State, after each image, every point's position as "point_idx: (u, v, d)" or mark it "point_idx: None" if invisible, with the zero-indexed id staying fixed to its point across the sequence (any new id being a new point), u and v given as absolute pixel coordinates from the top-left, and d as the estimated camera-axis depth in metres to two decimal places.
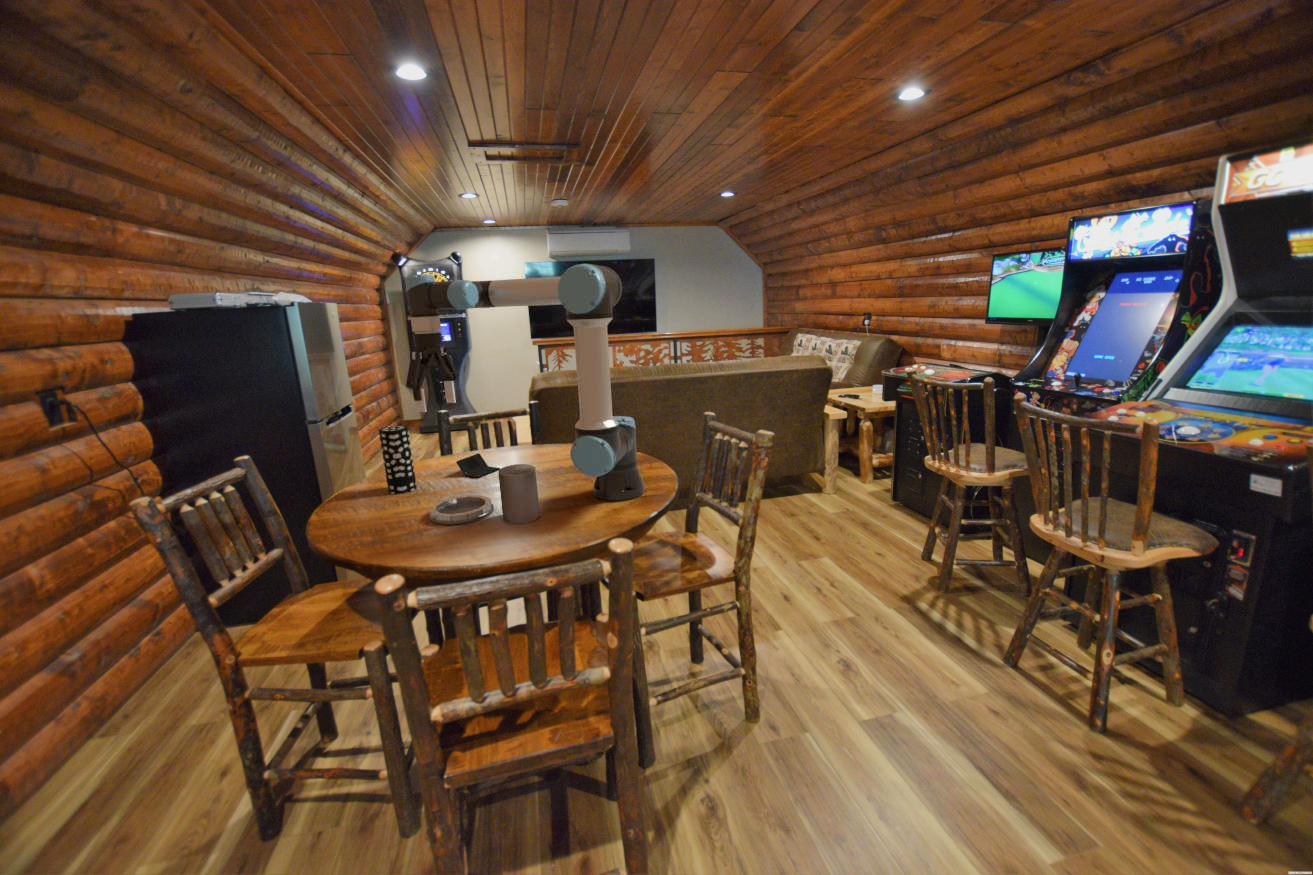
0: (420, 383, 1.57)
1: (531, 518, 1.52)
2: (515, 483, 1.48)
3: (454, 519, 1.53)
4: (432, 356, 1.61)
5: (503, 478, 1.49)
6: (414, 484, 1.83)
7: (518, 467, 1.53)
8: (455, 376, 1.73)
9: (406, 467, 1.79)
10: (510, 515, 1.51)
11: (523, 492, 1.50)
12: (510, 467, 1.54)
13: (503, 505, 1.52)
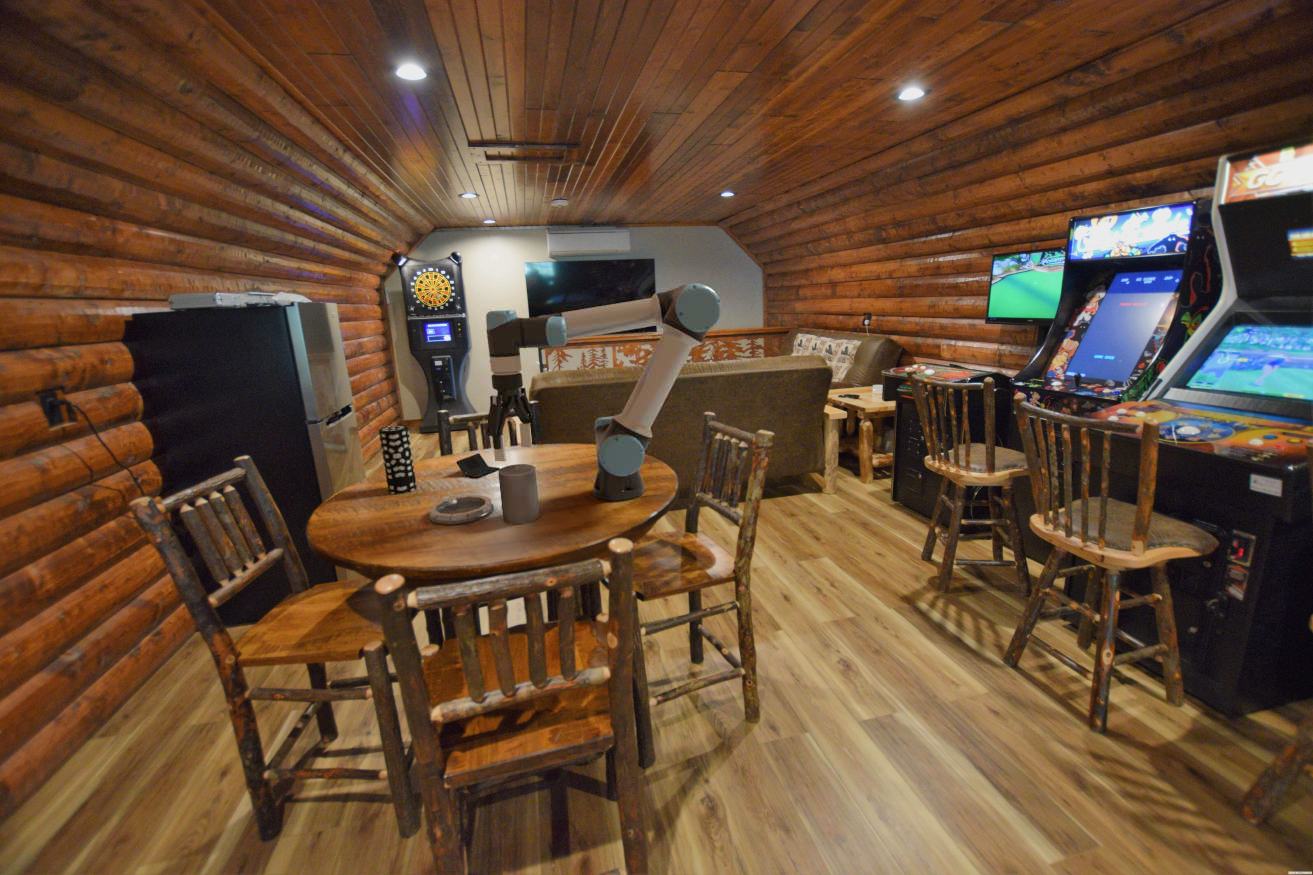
0: (500, 430, 1.42)
1: (531, 518, 1.52)
2: (515, 483, 1.48)
3: (454, 519, 1.53)
4: (512, 399, 1.46)
5: (503, 478, 1.49)
6: (414, 484, 1.83)
7: (518, 467, 1.53)
8: (531, 418, 1.58)
9: (406, 467, 1.79)
10: (510, 515, 1.51)
11: (523, 492, 1.50)
12: (510, 467, 1.54)
13: (503, 505, 1.52)
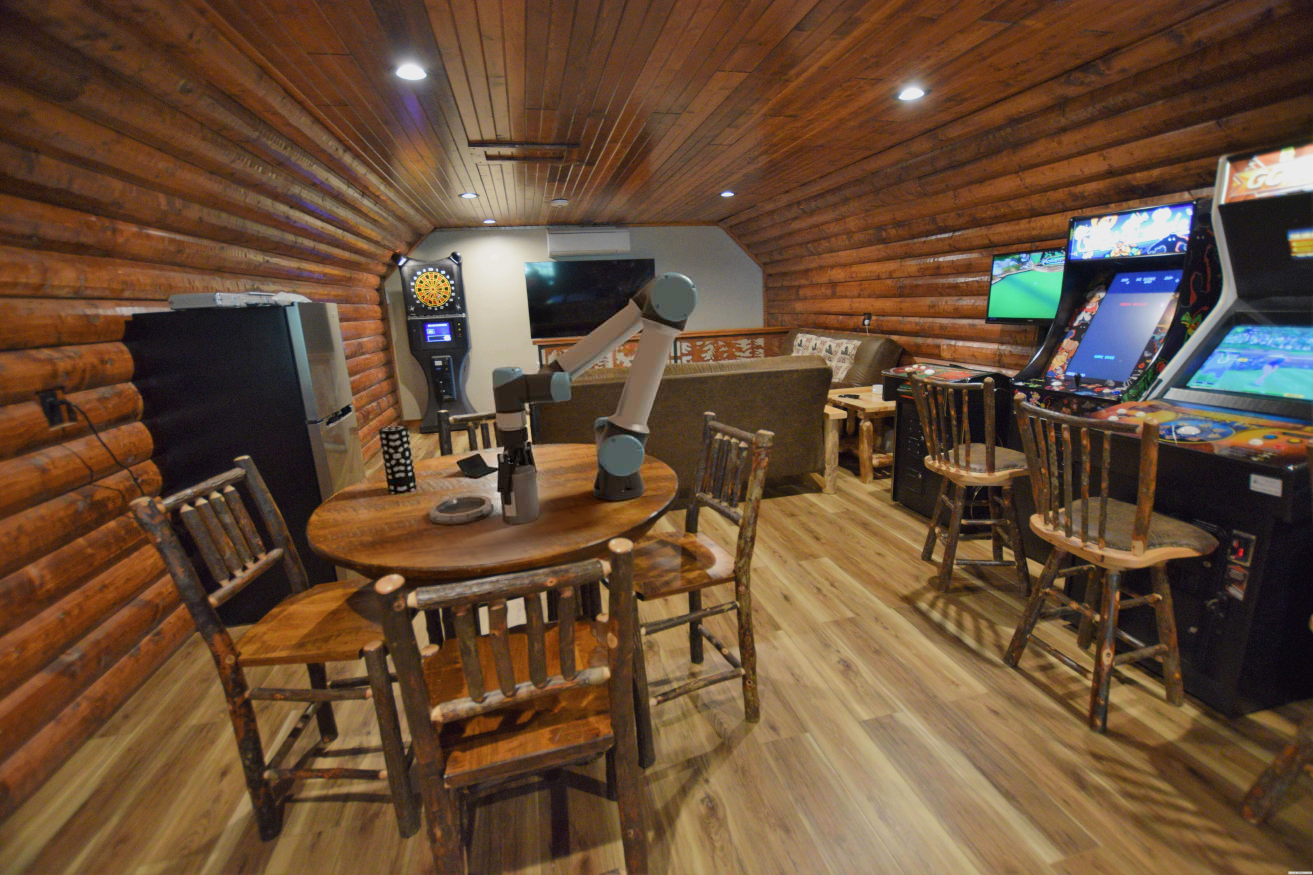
0: (511, 486, 1.47)
1: (530, 518, 1.52)
2: (515, 483, 1.48)
3: (454, 519, 1.53)
4: (518, 453, 1.49)
5: None
6: (414, 484, 1.83)
7: (518, 467, 1.53)
8: None
9: (406, 467, 1.79)
10: None
11: (523, 492, 1.49)
12: None
13: (503, 505, 1.52)
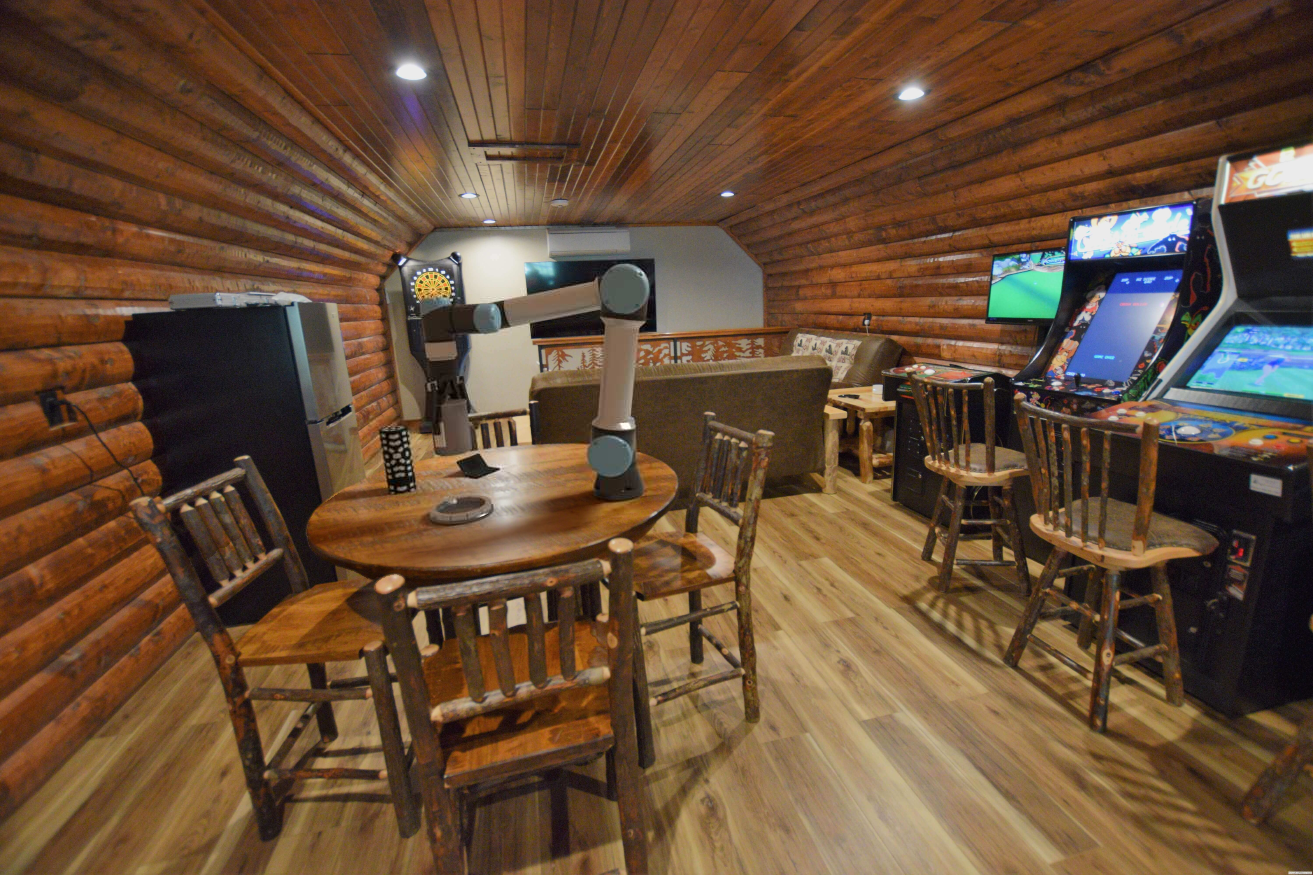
0: (439, 416, 1.48)
1: (461, 451, 1.53)
2: (444, 413, 1.49)
3: (454, 519, 1.53)
4: (448, 384, 1.50)
5: None
6: (414, 484, 1.83)
7: (449, 400, 1.54)
8: (468, 408, 1.60)
9: (406, 467, 1.79)
10: None
11: (452, 423, 1.50)
12: None
13: (433, 437, 1.52)
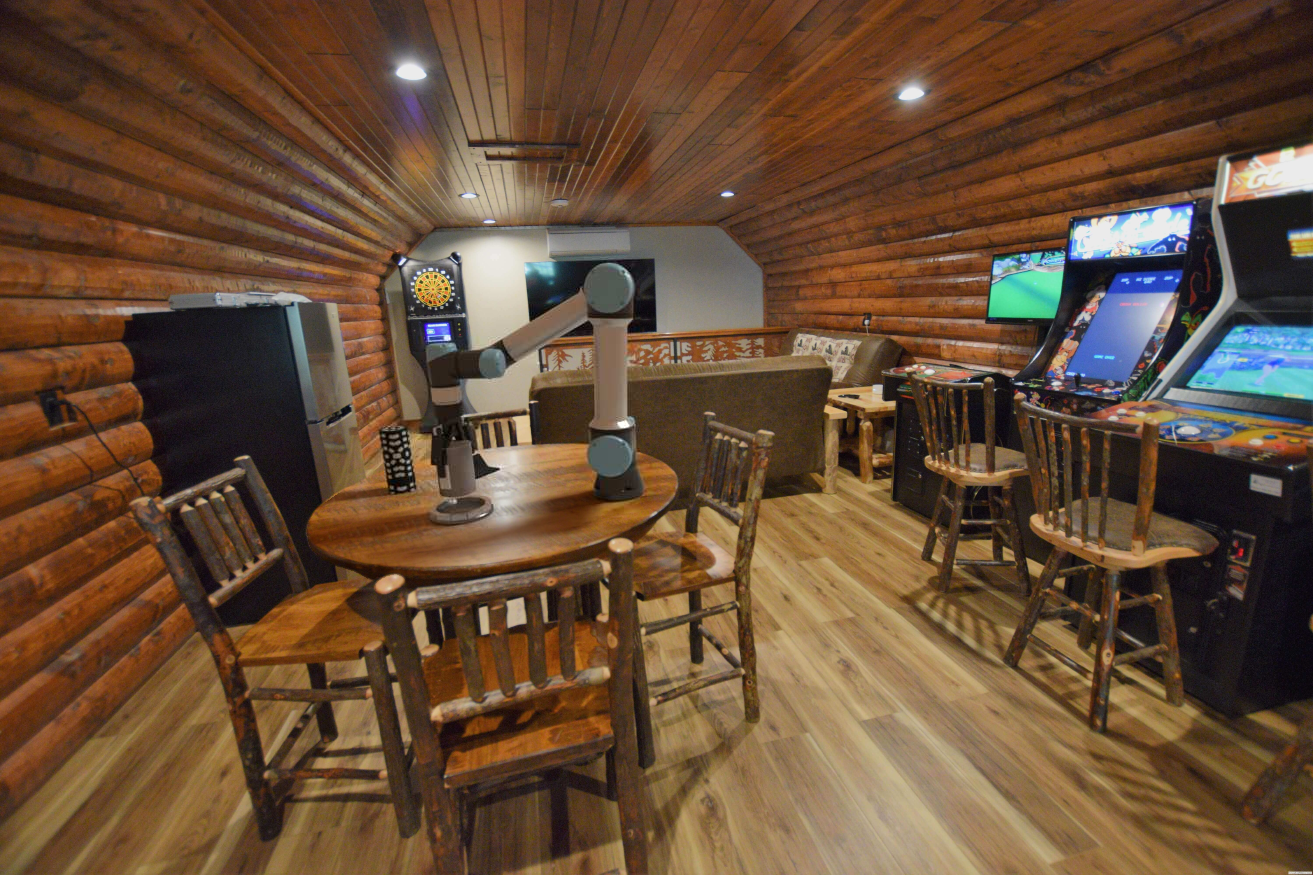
0: (444, 460, 1.51)
1: (466, 492, 1.56)
2: (449, 456, 1.52)
3: (454, 519, 1.53)
4: (453, 428, 1.53)
5: None
6: (414, 484, 1.83)
7: (454, 442, 1.57)
8: (472, 448, 1.63)
9: (406, 467, 1.79)
10: None
11: (457, 466, 1.53)
12: None
13: (438, 478, 1.55)
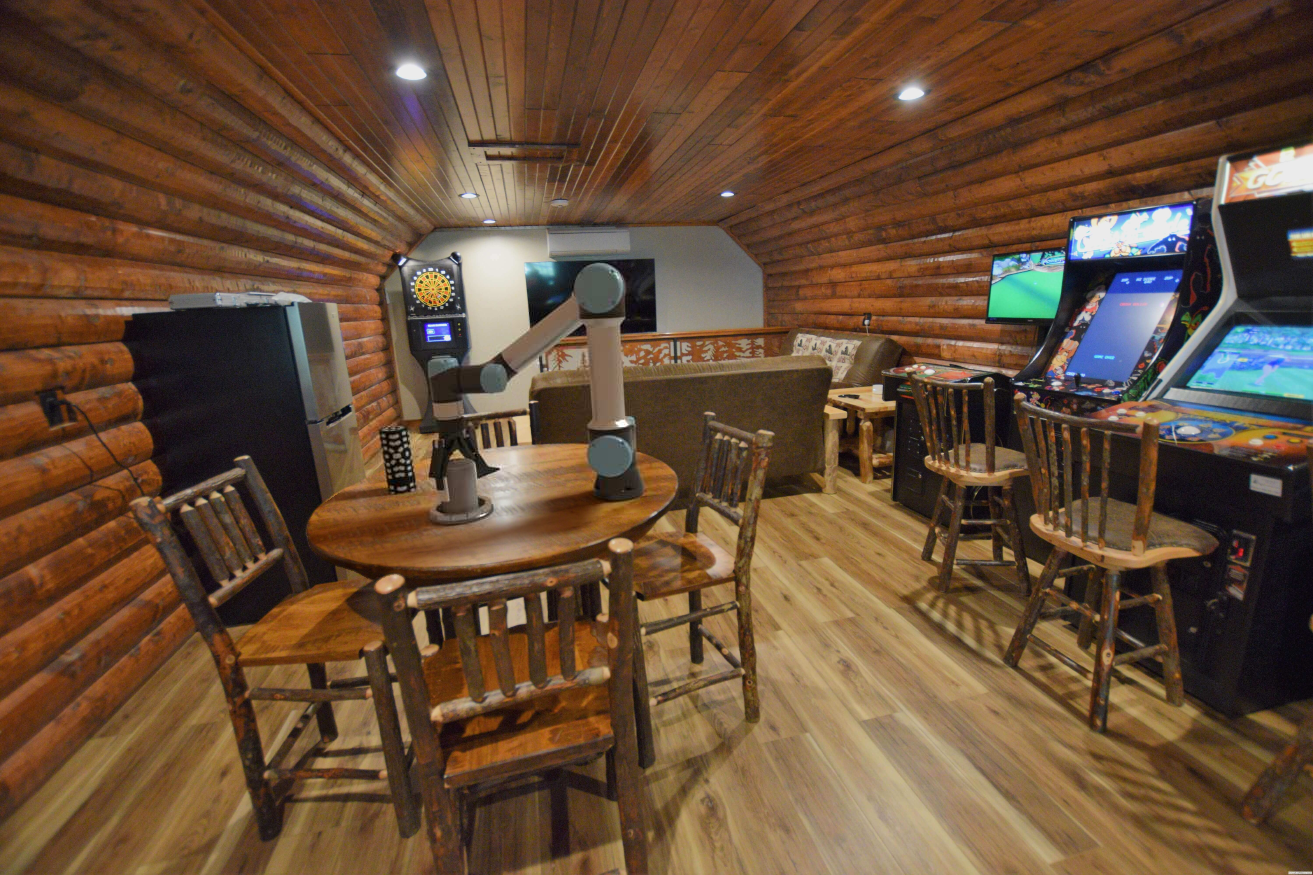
0: (443, 472, 1.50)
1: (468, 511, 1.57)
2: (452, 476, 1.53)
3: (454, 519, 1.53)
4: (455, 442, 1.54)
5: (440, 472, 1.53)
6: (414, 484, 1.83)
7: (457, 461, 1.58)
8: (477, 457, 1.65)
9: (406, 467, 1.79)
10: (448, 507, 1.55)
11: (460, 485, 1.54)
12: (449, 461, 1.58)
13: None
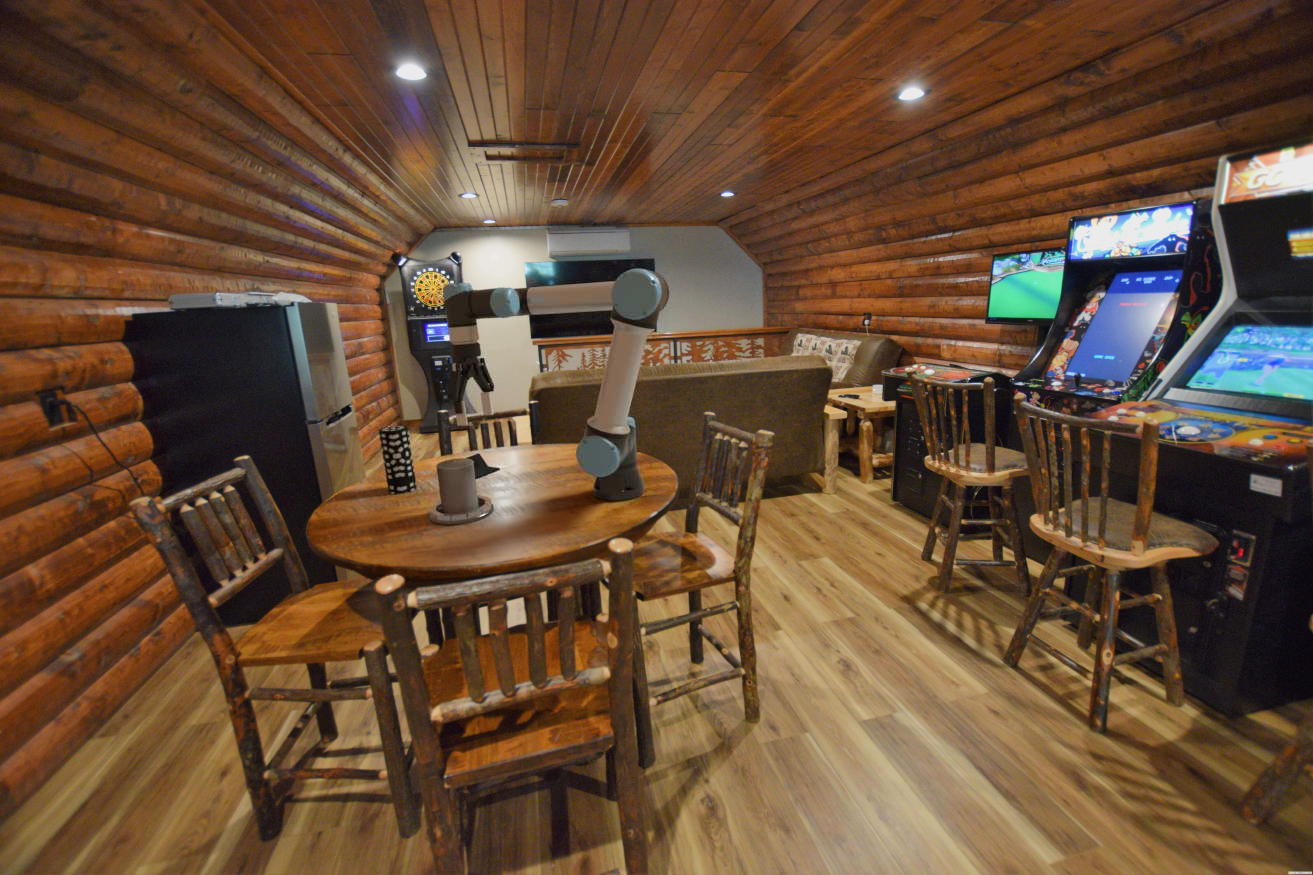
0: (461, 395, 1.52)
1: (468, 511, 1.57)
2: (452, 476, 1.53)
3: (454, 519, 1.53)
4: (471, 367, 1.55)
5: (440, 472, 1.53)
6: (414, 484, 1.83)
7: (456, 461, 1.58)
8: (492, 387, 1.67)
9: (406, 467, 1.79)
10: (448, 507, 1.55)
11: (460, 485, 1.54)
12: (449, 461, 1.58)
13: (441, 498, 1.56)
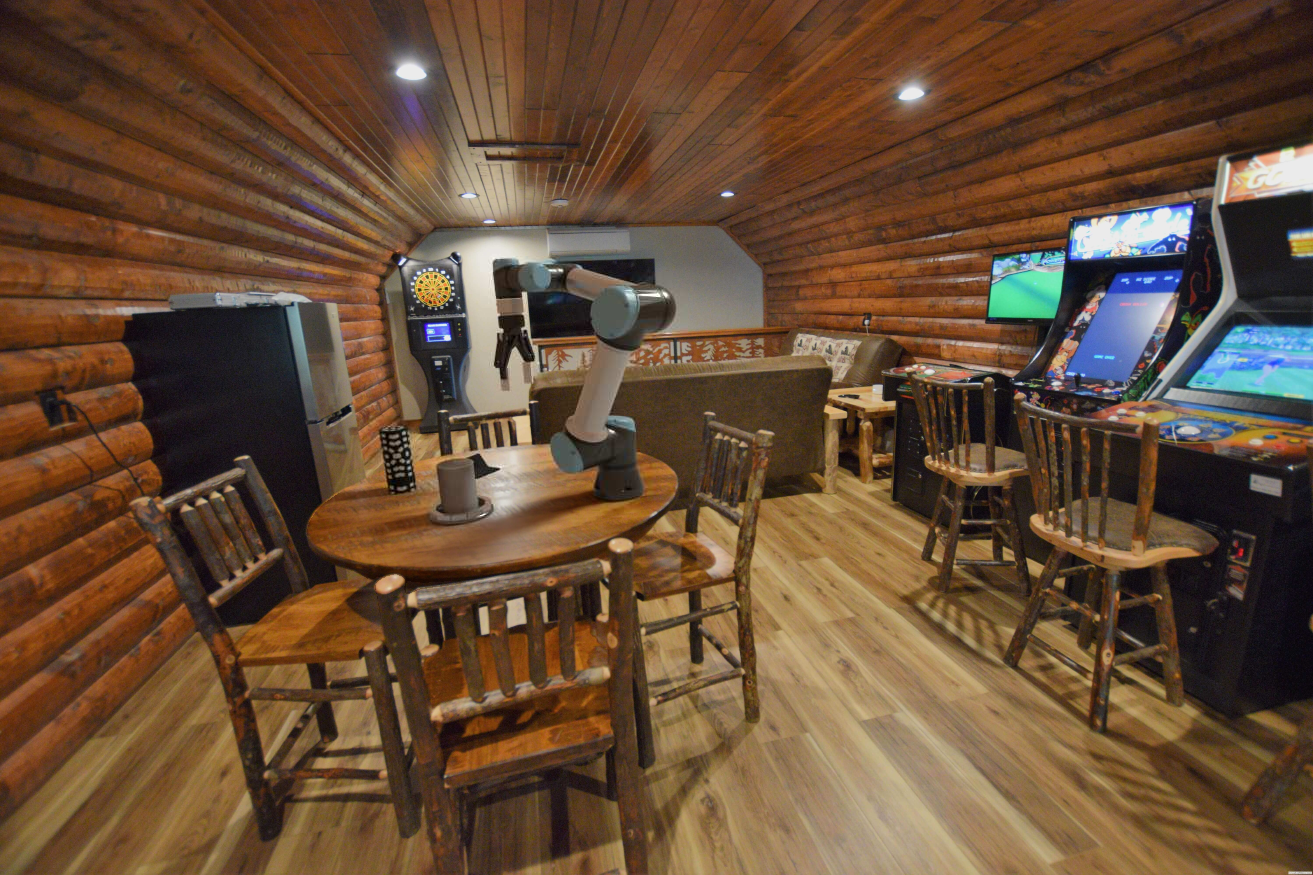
0: (506, 363, 1.64)
1: (468, 511, 1.57)
2: (452, 476, 1.53)
3: (454, 519, 1.53)
4: (516, 337, 1.67)
5: (440, 472, 1.53)
6: (414, 484, 1.83)
7: (456, 461, 1.58)
8: (533, 358, 1.79)
9: (406, 467, 1.79)
10: (448, 507, 1.55)
11: (460, 485, 1.54)
12: (449, 461, 1.58)
13: (441, 498, 1.56)
